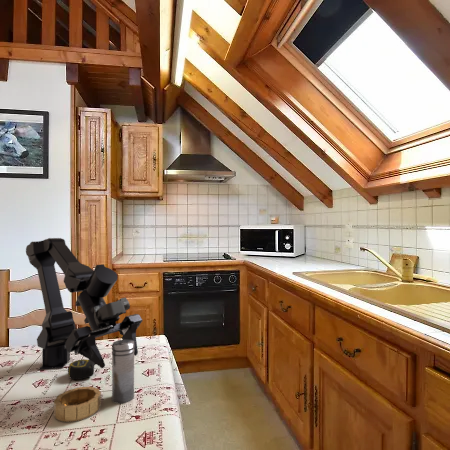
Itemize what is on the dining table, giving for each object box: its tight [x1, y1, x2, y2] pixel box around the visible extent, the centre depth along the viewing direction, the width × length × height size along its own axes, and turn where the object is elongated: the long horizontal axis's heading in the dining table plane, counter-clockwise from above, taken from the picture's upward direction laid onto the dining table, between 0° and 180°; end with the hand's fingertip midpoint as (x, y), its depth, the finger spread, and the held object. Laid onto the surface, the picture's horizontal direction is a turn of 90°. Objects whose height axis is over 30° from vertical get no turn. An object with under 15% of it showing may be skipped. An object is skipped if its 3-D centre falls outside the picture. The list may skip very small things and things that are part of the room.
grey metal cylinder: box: [111, 339, 135, 405], centre depth 75 cm, size 5×5×13 cm
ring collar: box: [53, 386, 102, 423], centre depth 70 cm, size 9×9×3 cm
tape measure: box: [67, 358, 97, 380], centre depth 87 cm, size 7×7×4 cm
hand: (120, 360), depth 76 cm, fingers open, 9 cm apart
